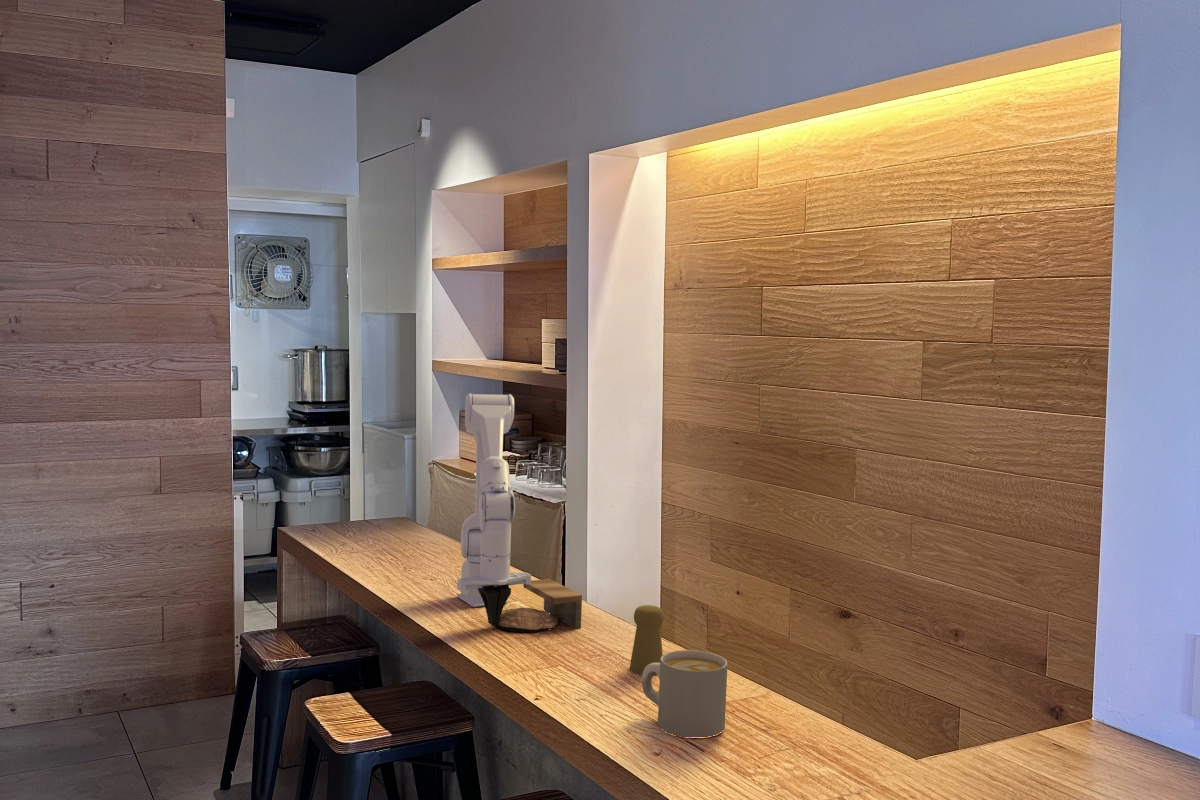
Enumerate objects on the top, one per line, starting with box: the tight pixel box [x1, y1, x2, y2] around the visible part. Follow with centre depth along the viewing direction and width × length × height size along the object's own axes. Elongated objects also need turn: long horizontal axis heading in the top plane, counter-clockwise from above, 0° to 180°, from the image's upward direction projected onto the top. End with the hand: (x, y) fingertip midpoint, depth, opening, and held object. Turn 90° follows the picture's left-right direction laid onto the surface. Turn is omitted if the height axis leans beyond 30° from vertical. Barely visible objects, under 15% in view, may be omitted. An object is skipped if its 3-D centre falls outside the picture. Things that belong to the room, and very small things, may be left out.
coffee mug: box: [641, 649, 728, 737], centre depth 156 cm, size 13×10×10 cm
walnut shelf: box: [522, 578, 583, 629], centre depth 208 cm, size 14×6×6 cm, turn 29°
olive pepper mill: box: [628, 604, 665, 676], centre depth 180 cm, size 6×6×11 cm
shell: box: [494, 607, 559, 634], centre depth 204 cm, size 12×13×4 cm
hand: (493, 623), depth 201 cm, fingers closed
